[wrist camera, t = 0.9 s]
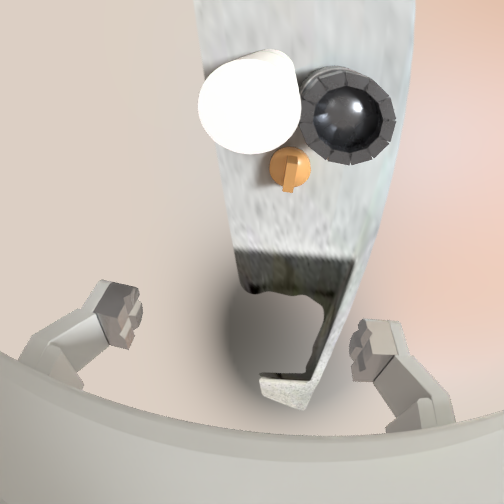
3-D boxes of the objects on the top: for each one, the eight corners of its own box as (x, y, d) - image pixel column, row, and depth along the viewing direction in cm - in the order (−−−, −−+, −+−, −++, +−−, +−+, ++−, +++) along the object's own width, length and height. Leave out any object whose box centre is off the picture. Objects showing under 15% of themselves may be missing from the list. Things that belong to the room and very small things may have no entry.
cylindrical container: (264, 101, 40) (238, 170, 22) (236, 65, 37) (177, 99, 18) (303, 78, 37) (321, 123, 18) (275, 40, 33) (260, 39, 15)
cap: (272, 143, 45) (270, 155, 41) (313, 149, 45) (315, 162, 41) (268, 178, 49) (265, 193, 46) (306, 184, 49) (307, 199, 45)
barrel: (302, 58, 35) (306, 63, 27) (381, 76, 34) (405, 88, 27) (291, 131, 43) (292, 155, 35) (365, 146, 43) (381, 173, 35)
